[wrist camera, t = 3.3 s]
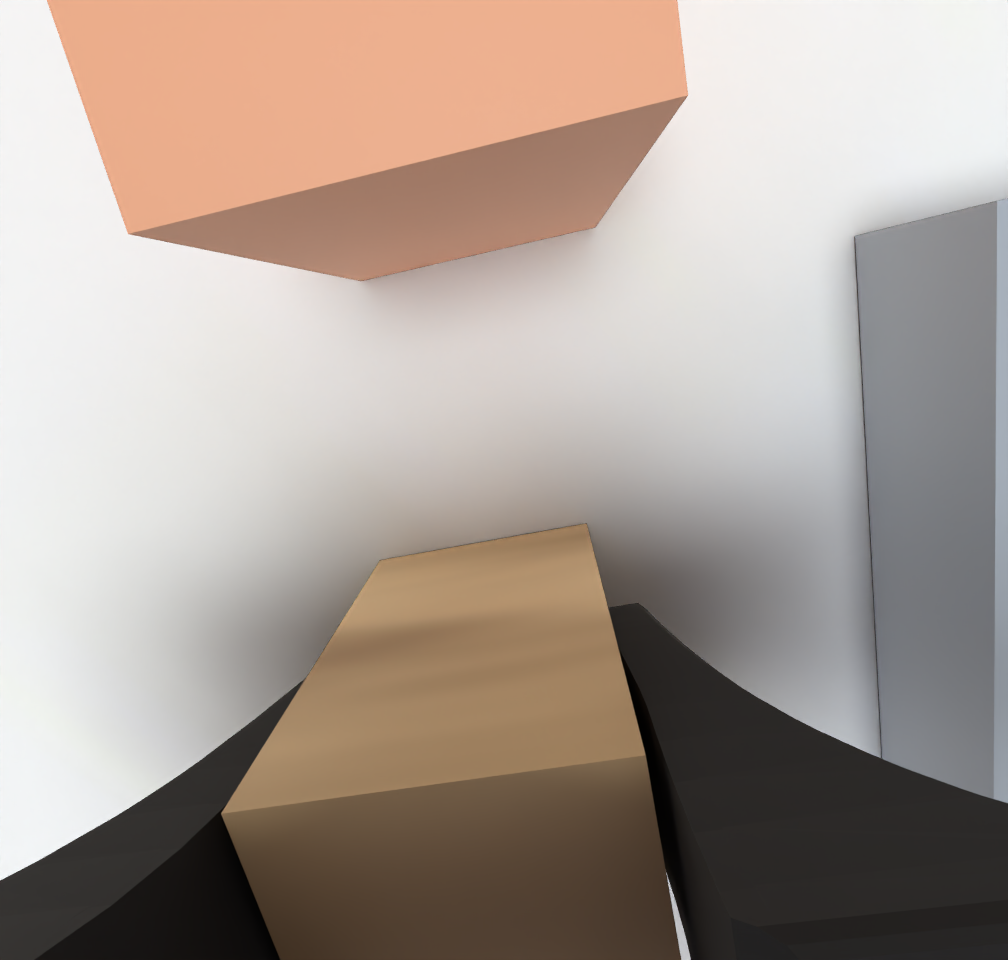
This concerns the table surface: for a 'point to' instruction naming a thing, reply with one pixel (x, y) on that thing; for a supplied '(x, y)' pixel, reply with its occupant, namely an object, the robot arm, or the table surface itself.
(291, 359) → the table surface
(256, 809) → the bronze block
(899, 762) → the slate tray
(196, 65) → the terracotta block
